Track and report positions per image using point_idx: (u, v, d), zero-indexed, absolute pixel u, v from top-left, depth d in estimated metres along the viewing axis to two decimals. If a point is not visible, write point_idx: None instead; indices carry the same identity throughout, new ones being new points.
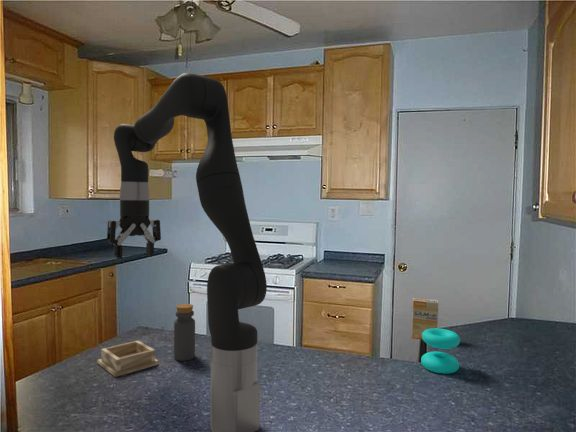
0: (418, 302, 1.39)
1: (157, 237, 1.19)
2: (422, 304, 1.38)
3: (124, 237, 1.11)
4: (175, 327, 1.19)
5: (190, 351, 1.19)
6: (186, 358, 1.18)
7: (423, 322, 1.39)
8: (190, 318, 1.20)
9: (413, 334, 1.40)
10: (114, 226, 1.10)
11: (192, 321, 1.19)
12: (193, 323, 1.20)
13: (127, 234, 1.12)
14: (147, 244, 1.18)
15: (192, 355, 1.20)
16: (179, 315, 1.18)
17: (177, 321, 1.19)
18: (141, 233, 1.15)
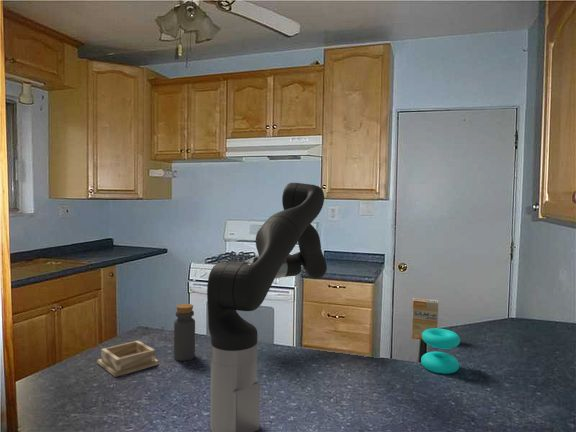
0: (418, 302, 1.39)
1: None
2: (422, 304, 1.38)
3: (235, 262, 1.31)
4: (175, 327, 1.19)
5: (190, 351, 1.19)
6: (186, 358, 1.18)
7: (423, 322, 1.39)
8: (190, 318, 1.20)
9: (413, 334, 1.40)
10: None
11: (192, 321, 1.19)
12: (193, 323, 1.20)
13: (238, 262, 1.31)
14: None
15: (192, 355, 1.20)
16: (179, 315, 1.18)
17: (177, 321, 1.19)
18: None
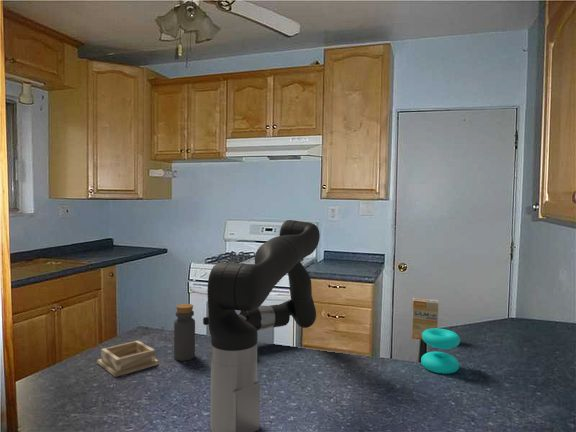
0: (418, 302, 1.39)
1: None
2: (422, 304, 1.38)
3: None
4: (175, 327, 1.19)
5: (190, 351, 1.19)
6: (186, 358, 1.18)
7: (423, 322, 1.39)
8: (190, 318, 1.20)
9: (413, 334, 1.40)
10: None
11: (192, 321, 1.19)
12: (193, 323, 1.20)
13: None
14: None
15: (192, 355, 1.20)
16: (179, 315, 1.18)
17: (177, 321, 1.19)
18: None
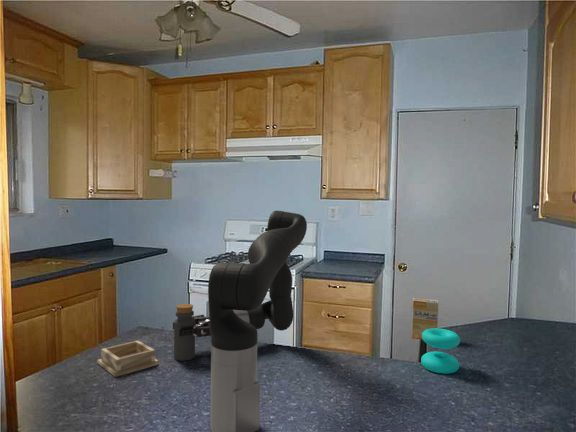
0: (418, 302, 1.39)
1: None
2: (422, 304, 1.38)
3: (194, 318, 1.25)
4: (175, 327, 1.19)
5: (190, 351, 1.19)
6: (186, 358, 1.18)
7: (423, 322, 1.39)
8: (190, 318, 1.20)
9: (413, 334, 1.40)
10: (199, 315, 1.29)
11: (192, 321, 1.19)
12: (193, 323, 1.20)
13: (197, 318, 1.25)
14: None
15: (192, 355, 1.20)
16: (179, 315, 1.18)
17: (177, 321, 1.19)
18: None
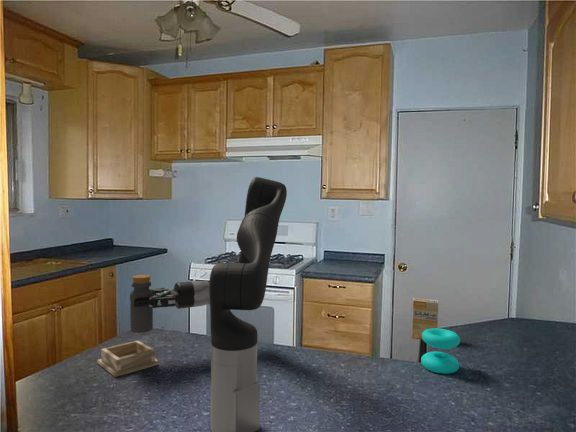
0: (418, 302, 1.39)
1: None
2: (422, 304, 1.38)
3: (153, 290, 1.20)
4: (131, 298, 1.14)
5: (147, 323, 1.14)
6: (142, 330, 1.14)
7: (423, 322, 1.39)
8: (147, 289, 1.15)
9: (413, 334, 1.40)
10: (160, 288, 1.24)
11: (149, 292, 1.15)
12: (150, 294, 1.15)
13: (156, 290, 1.20)
14: None
15: (149, 327, 1.15)
16: (135, 285, 1.13)
17: (133, 292, 1.14)
18: None
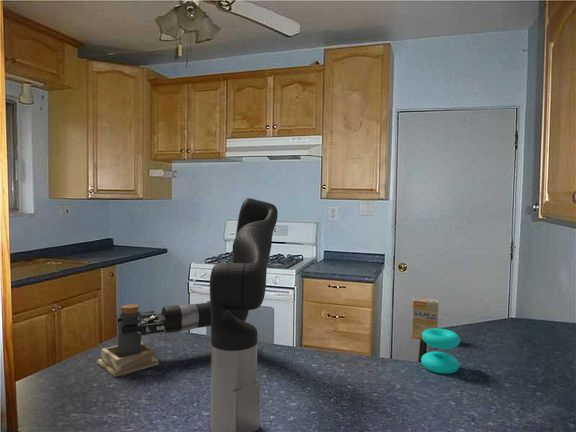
0: (418, 302, 1.39)
1: None
2: (422, 304, 1.38)
3: (140, 314, 1.19)
4: (119, 329, 1.13)
5: None
6: None
7: (423, 322, 1.39)
8: (135, 319, 1.14)
9: (413, 334, 1.40)
10: (148, 312, 1.23)
11: (137, 322, 1.13)
12: None
13: (143, 314, 1.19)
14: None
15: None
16: (122, 316, 1.12)
17: (121, 322, 1.13)
18: None
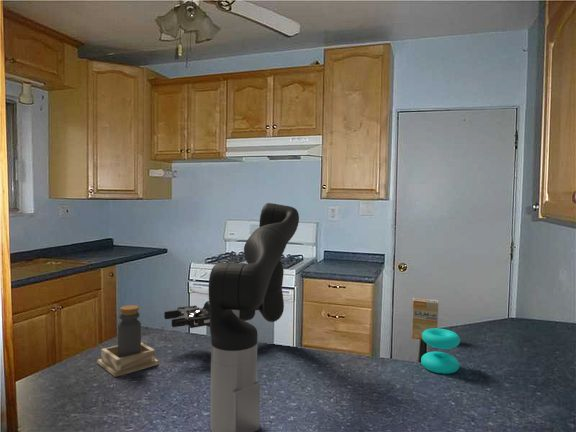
0: (418, 302, 1.39)
1: None
2: (422, 304, 1.38)
3: (185, 308, 1.26)
4: (118, 330, 1.12)
5: None
6: None
7: (423, 322, 1.39)
8: (135, 320, 1.13)
9: (413, 334, 1.40)
10: (192, 306, 1.30)
11: (137, 324, 1.13)
12: (138, 326, 1.13)
13: (188, 308, 1.26)
14: None
15: None
16: (122, 317, 1.11)
17: (120, 323, 1.12)
18: None
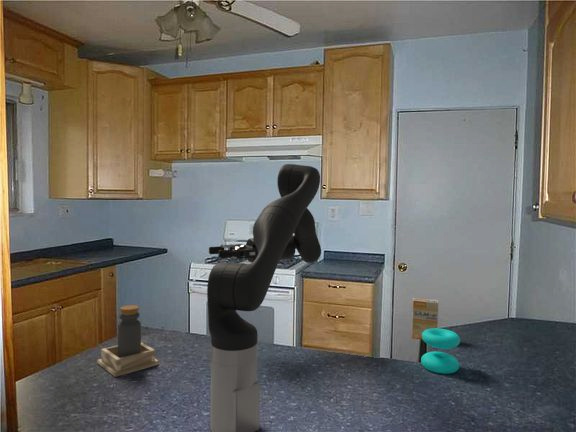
0: (418, 302, 1.39)
1: None
2: (422, 304, 1.38)
3: None
4: (118, 330, 1.12)
5: None
6: None
7: (423, 322, 1.39)
8: (135, 320, 1.13)
9: (413, 334, 1.40)
10: None
11: (137, 324, 1.13)
12: (138, 326, 1.13)
13: (231, 244, 1.29)
14: None
15: None
16: (122, 317, 1.11)
17: (120, 323, 1.12)
18: None
